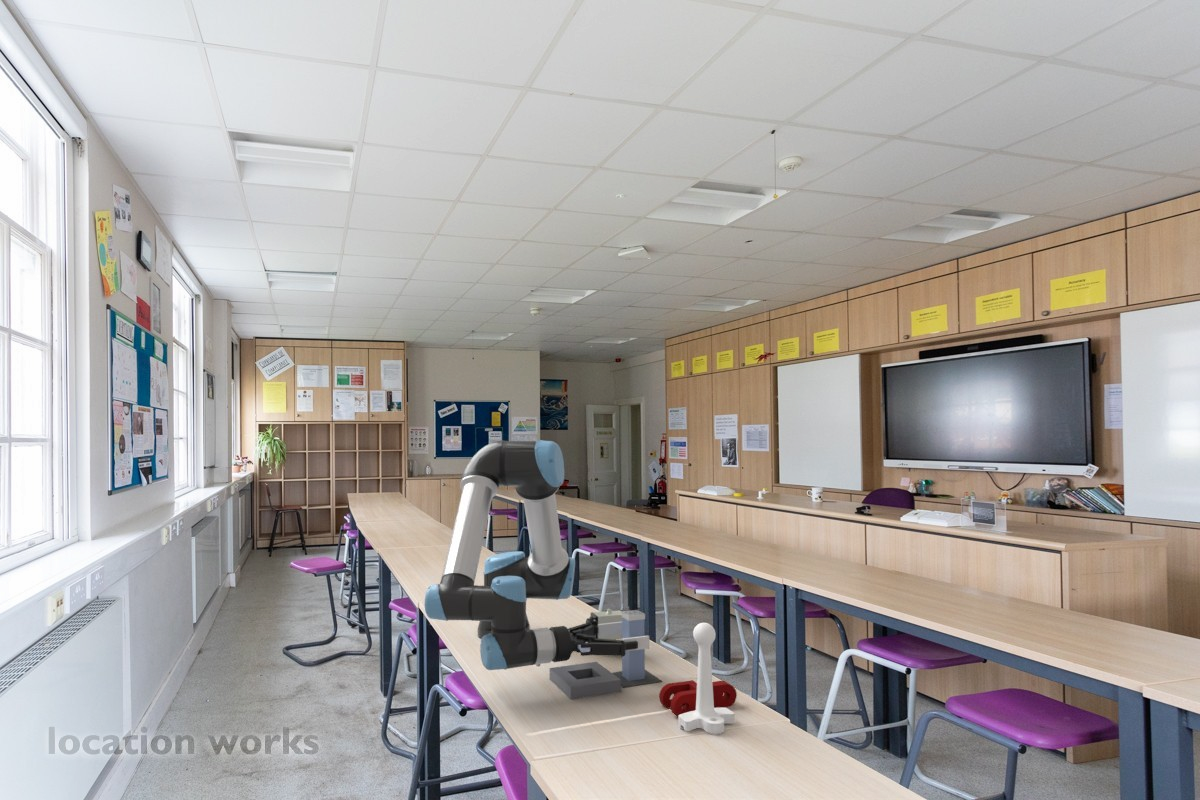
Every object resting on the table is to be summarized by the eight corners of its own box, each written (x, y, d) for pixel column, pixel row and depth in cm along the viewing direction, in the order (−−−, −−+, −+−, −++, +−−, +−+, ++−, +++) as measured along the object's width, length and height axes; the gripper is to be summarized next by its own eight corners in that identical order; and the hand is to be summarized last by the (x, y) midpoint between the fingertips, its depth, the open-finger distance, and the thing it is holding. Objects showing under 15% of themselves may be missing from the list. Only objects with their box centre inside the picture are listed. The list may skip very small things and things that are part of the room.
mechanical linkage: (674, 721, 145) (674, 696, 145) (659, 708, 152) (659, 684, 152) (742, 710, 150) (742, 686, 151) (725, 699, 157) (725, 675, 157)
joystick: (722, 716, 147) (722, 617, 148) (743, 730, 140) (742, 626, 141) (675, 725, 142) (674, 623, 143) (694, 739, 135) (693, 632, 136)
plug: (621, 675, 170) (621, 611, 171) (637, 673, 172) (637, 609, 172) (629, 681, 166) (628, 615, 167) (645, 678, 168) (645, 613, 168)
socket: (549, 681, 168) (549, 668, 168) (596, 674, 173) (596, 661, 173) (570, 701, 155) (570, 687, 155) (620, 693, 160) (620, 679, 160)
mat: (605, 676, 171) (605, 673, 171) (642, 670, 175) (642, 668, 175) (623, 689, 162) (623, 686, 162) (662, 683, 166) (662, 680, 166)
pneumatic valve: (633, 655, 187) (633, 609, 188) (590, 660, 184) (590, 612, 184) (626, 649, 192) (626, 604, 193) (584, 653, 189) (584, 607, 190)
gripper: (532, 647, 172) (612, 637, 180) (570, 679, 149) (660, 665, 157) (532, 615, 172) (612, 606, 181) (570, 642, 149) (660, 631, 158)
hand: (635, 634), depth 169 cm, fingers open, 13 cm apart
